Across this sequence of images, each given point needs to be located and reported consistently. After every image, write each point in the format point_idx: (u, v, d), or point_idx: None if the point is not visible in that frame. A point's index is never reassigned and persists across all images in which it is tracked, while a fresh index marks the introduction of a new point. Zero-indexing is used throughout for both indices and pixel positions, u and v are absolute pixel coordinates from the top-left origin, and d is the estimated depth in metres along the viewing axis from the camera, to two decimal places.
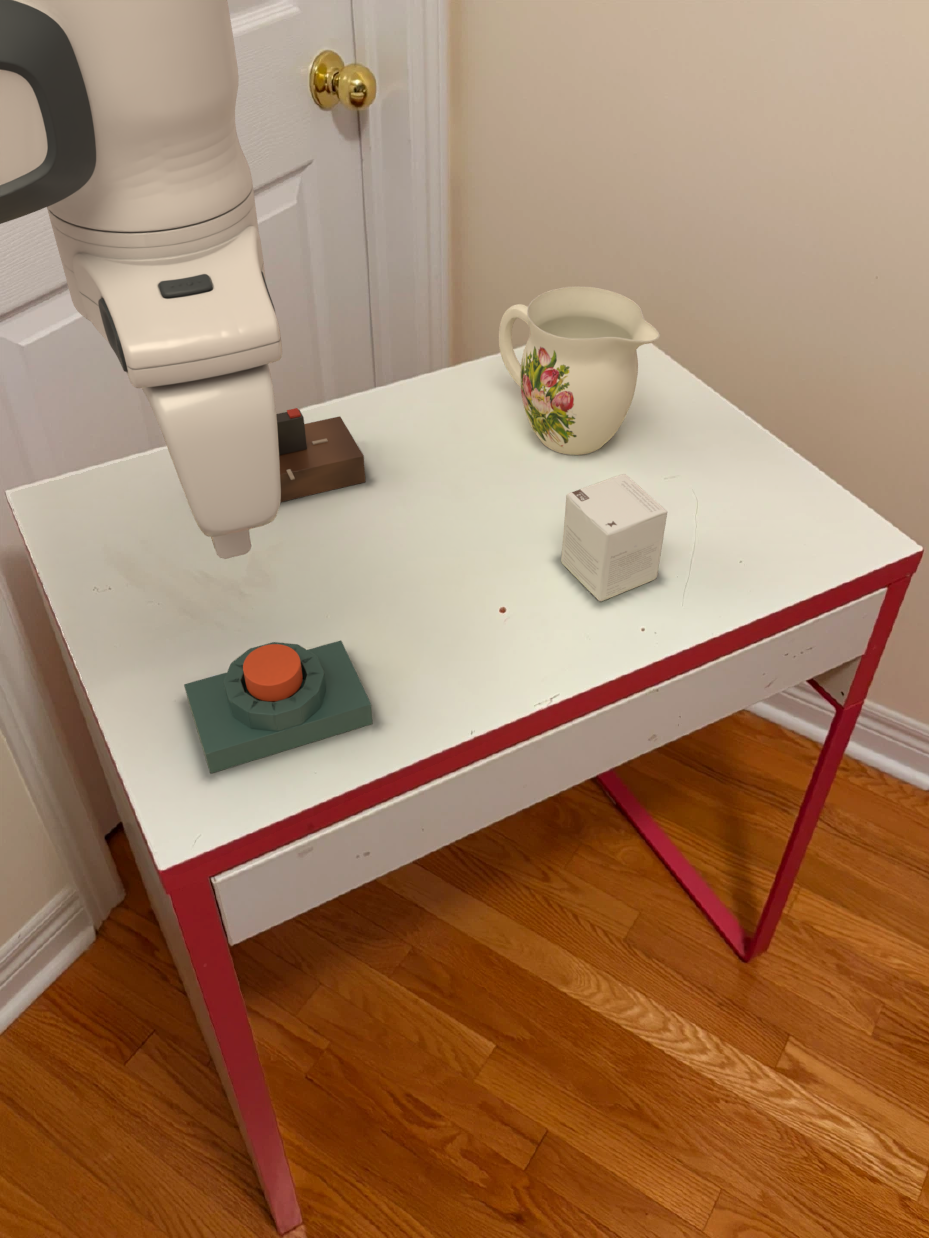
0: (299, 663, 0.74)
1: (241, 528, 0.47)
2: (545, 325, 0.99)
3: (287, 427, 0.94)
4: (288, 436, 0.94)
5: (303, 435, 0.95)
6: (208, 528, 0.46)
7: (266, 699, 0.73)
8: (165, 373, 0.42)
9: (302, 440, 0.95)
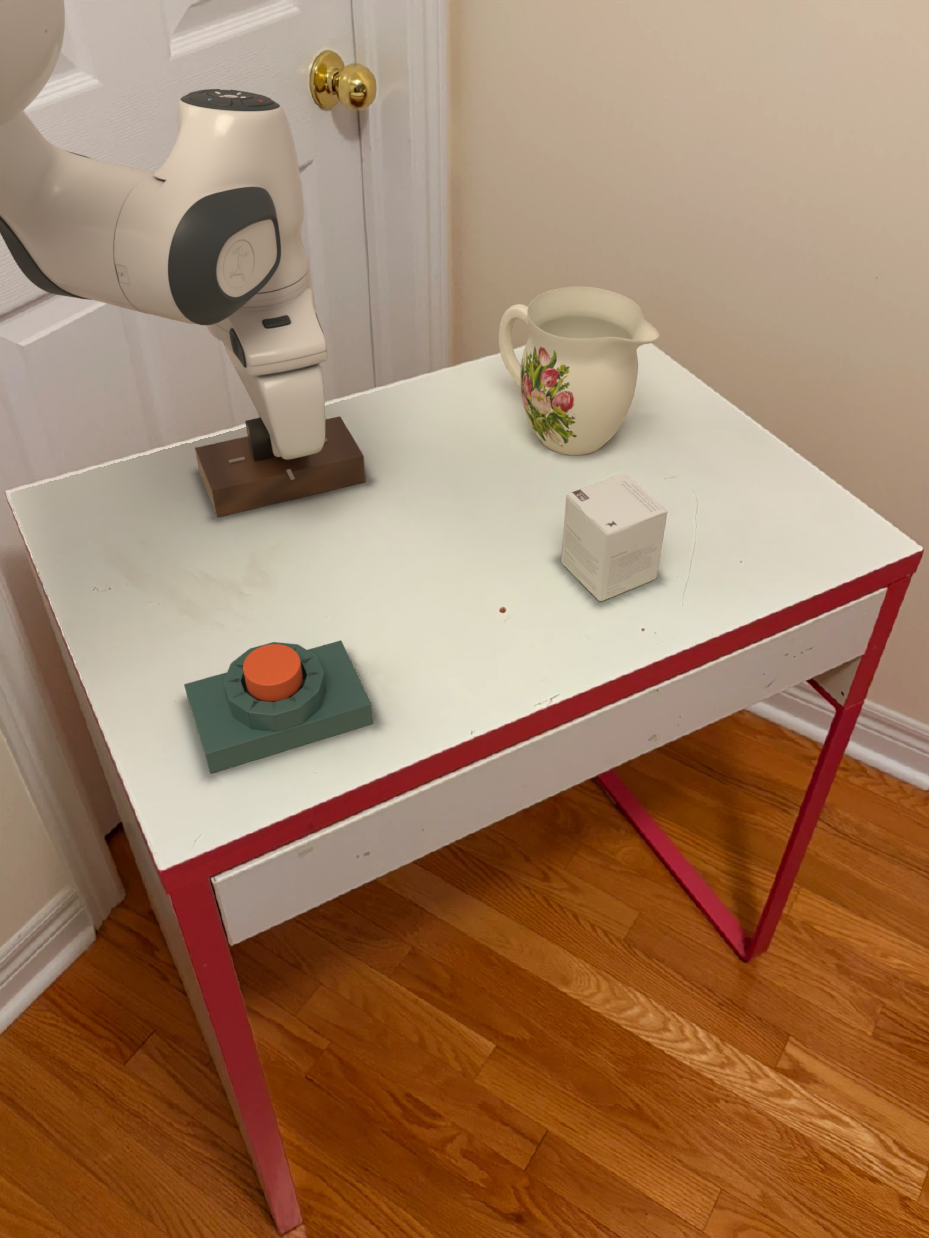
0: (299, 663, 0.74)
1: (303, 454, 0.85)
2: (545, 325, 0.99)
3: None
4: None
5: None
6: (286, 453, 0.84)
7: (266, 699, 0.73)
8: (267, 368, 0.80)
9: None
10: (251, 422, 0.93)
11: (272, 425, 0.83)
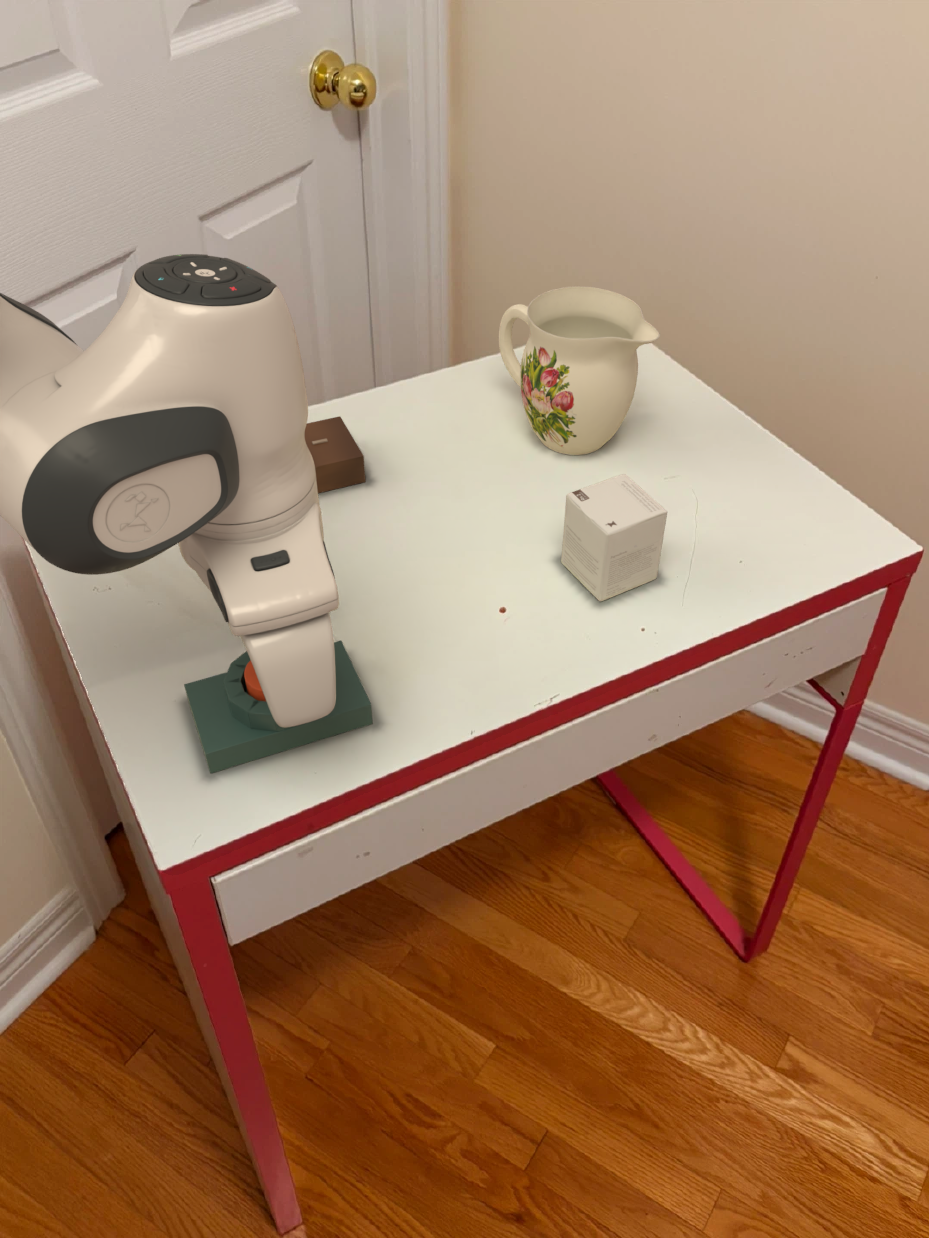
0: None
1: (306, 722, 0.64)
2: (545, 325, 0.99)
3: None
4: None
5: None
6: (283, 724, 0.63)
7: None
8: (257, 627, 0.59)
9: None
10: None
11: (264, 693, 0.61)
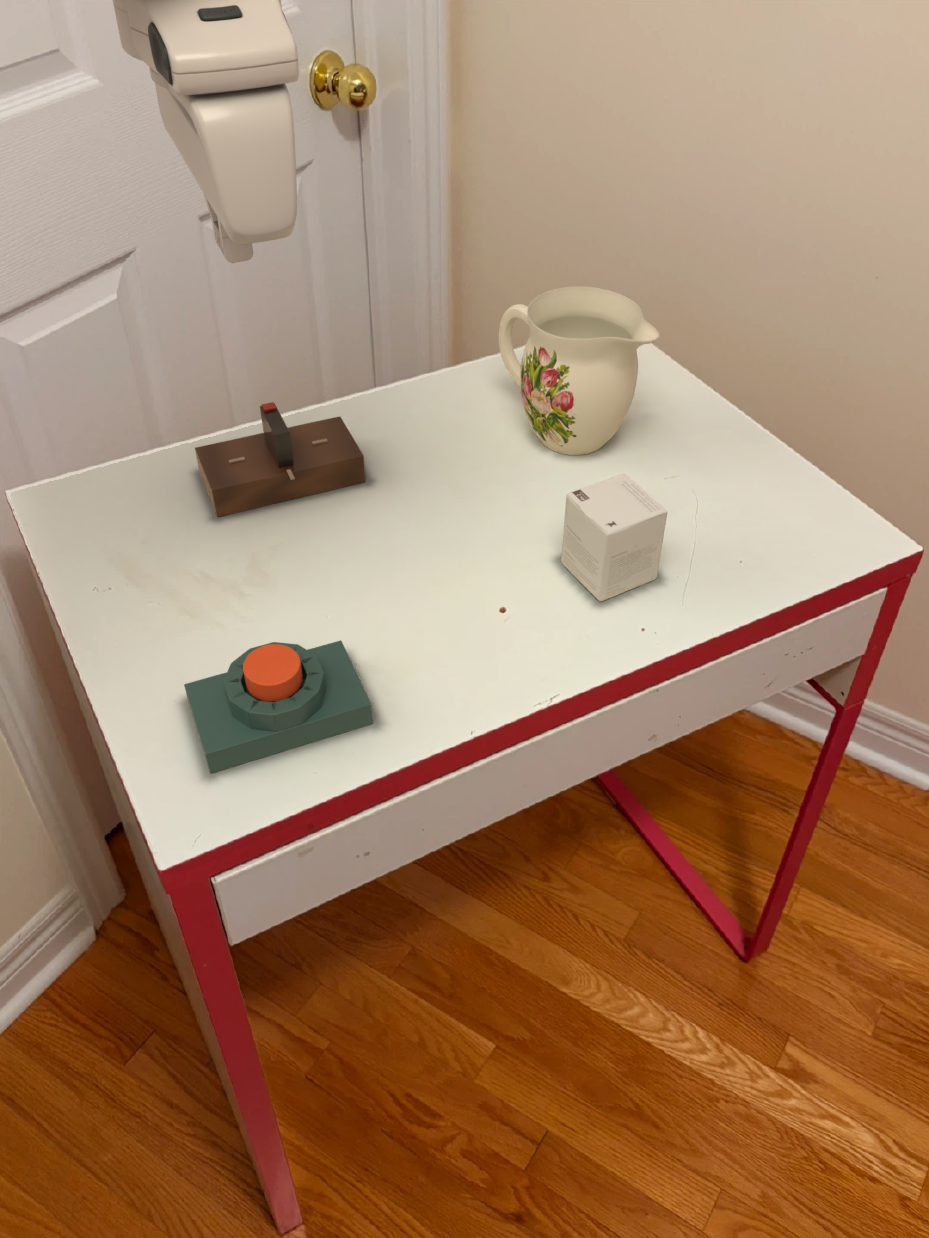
0: (299, 663, 0.74)
1: (264, 234, 0.56)
2: (545, 325, 0.99)
3: None
4: None
5: None
6: (237, 230, 0.56)
7: (266, 699, 0.73)
8: (204, 80, 0.52)
9: None
10: (279, 430, 0.92)
11: (214, 181, 0.54)
